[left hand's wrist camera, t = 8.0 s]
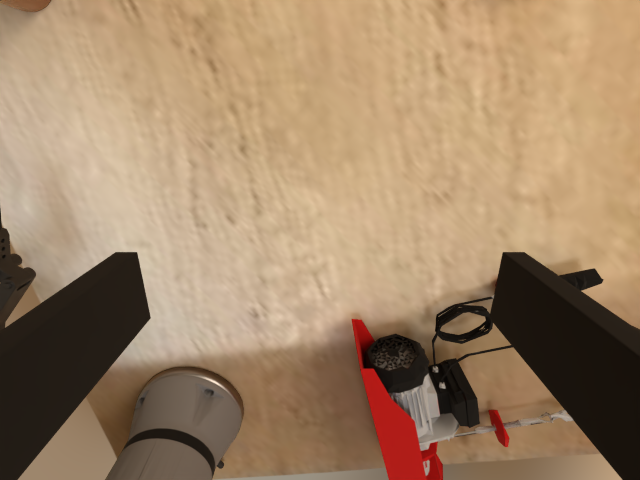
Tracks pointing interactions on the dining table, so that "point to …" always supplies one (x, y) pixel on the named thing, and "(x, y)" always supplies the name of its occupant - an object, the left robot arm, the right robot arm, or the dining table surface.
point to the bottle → (27, 4)
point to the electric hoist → (430, 392)
